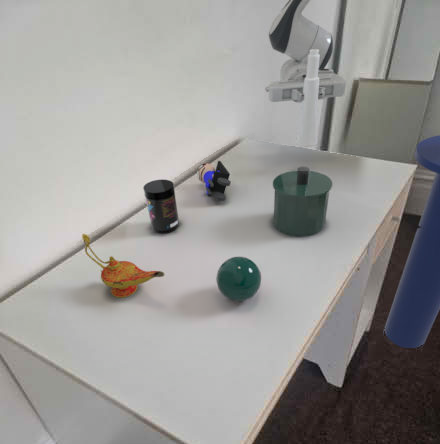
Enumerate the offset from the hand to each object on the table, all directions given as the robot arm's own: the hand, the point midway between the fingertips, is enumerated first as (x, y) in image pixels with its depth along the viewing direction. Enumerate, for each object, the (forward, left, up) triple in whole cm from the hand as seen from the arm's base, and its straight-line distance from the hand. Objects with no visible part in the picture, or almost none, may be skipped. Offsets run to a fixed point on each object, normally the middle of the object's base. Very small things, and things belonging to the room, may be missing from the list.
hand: (311, 96), depth 94 cm
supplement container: (+44, +14, -20) cm, 50 cm away
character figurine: (+28, +2, -20) cm, 34 cm away
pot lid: (+15, +25, -10) cm, 31 cm away
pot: (+15, +25, -20) cm, 35 cm away
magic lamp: (+55, +35, -20) cm, 68 cm away
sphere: (+36, +44, -20) cm, 60 cm away
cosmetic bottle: (0, -1, -12) cm, 12 cm away
